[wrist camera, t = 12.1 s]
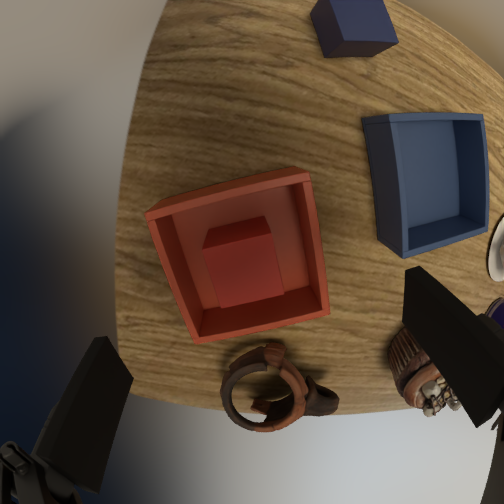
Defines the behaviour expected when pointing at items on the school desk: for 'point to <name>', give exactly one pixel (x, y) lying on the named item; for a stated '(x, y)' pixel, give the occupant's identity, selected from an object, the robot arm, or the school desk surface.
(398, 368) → the cupcake
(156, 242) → the terracotta bin
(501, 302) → the energy drink
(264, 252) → the red block
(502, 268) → the teacup
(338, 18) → the navy block
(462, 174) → the slate-blue bin
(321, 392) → the brown curved open frame
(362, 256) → the school desk surface
